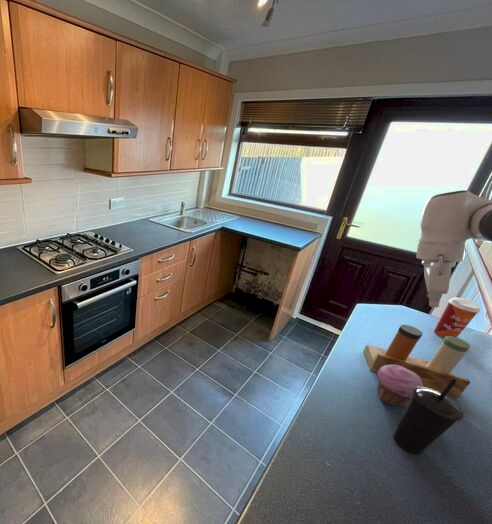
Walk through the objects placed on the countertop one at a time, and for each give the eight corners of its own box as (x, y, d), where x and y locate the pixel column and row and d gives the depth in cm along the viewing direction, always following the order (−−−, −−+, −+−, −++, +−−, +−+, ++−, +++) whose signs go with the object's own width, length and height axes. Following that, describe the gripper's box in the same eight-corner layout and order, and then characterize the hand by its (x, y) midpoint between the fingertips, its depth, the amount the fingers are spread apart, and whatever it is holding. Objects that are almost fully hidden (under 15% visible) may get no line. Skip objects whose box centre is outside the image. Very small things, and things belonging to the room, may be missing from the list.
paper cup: (440, 340, 98) (463, 307, 92) (424, 326, 105) (444, 295, 99) (466, 343, 97) (490, 310, 91) (448, 329, 104) (469, 298, 98)
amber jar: (401, 356, 85) (418, 327, 80) (406, 367, 81) (425, 337, 76) (381, 351, 86) (398, 322, 82) (386, 361, 82) (403, 331, 78)
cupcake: (365, 380, 79) (380, 353, 75) (403, 393, 76) (421, 366, 72) (372, 405, 72) (390, 377, 68) (415, 420, 69) (436, 391, 64)
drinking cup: (387, 420, 68) (429, 359, 59) (429, 444, 63) (481, 381, 55) (382, 442, 63) (427, 378, 54) (428, 469, 58) (485, 404, 50)
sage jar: (443, 368, 81) (464, 339, 76) (451, 380, 77) (474, 350, 72) (422, 362, 83) (442, 333, 78) (429, 374, 79) (450, 344, 74)
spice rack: (442, 374, 83) (453, 359, 81) (458, 397, 76) (470, 382, 73) (363, 351, 90) (370, 336, 88) (370, 370, 83) (378, 355, 80)
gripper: (462, 258, 66) (453, 314, 68) (452, 249, 80) (445, 296, 83) (424, 256, 70) (417, 309, 72) (422, 248, 85) (416, 292, 87)
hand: (432, 302), depth 78 cm, fingers open, 8 cm apart
